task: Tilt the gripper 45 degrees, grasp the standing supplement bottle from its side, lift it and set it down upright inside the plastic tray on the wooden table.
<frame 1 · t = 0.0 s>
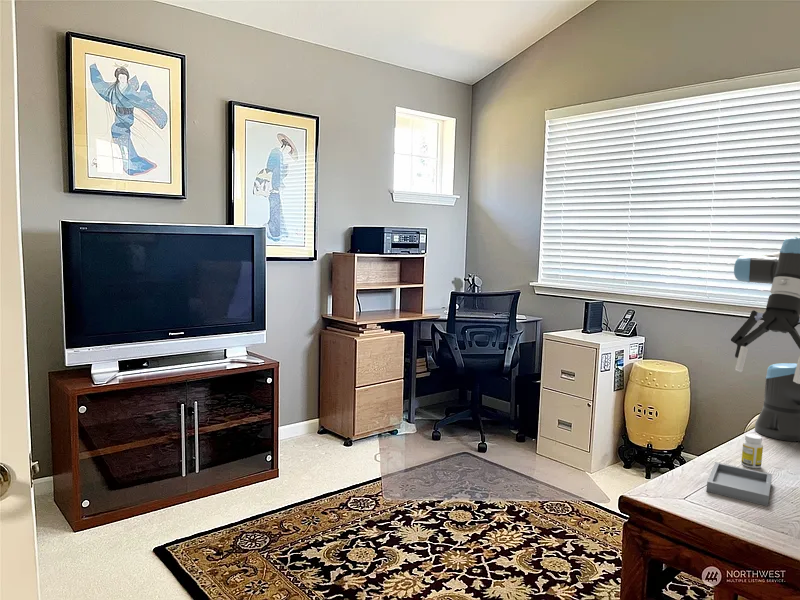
hand: (766, 376, 150), 28 cm above the table, tool tilted 20°, fingers open, 13 cm apart
tray: (739, 487, 150), on the table
supplement bottle: (750, 466, 165), on the table
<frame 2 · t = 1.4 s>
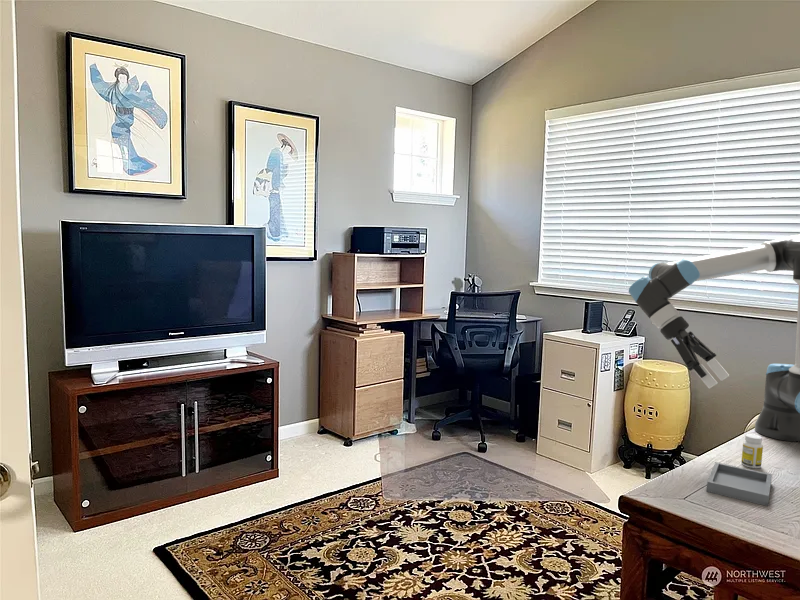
hand: (719, 382, 169), 22 cm above the table, tool tilted 45°, fingers open, 13 cm apart
nothing on the table moved.
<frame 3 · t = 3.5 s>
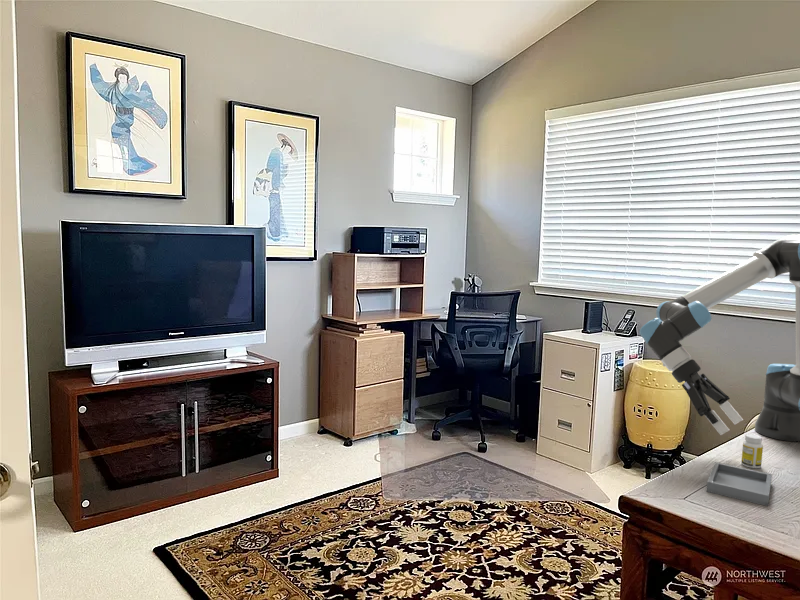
hand: (732, 427, 167), 10 cm above the table, tool tilted 45°, fingers open, 13 cm apart
nothing on the table moved.
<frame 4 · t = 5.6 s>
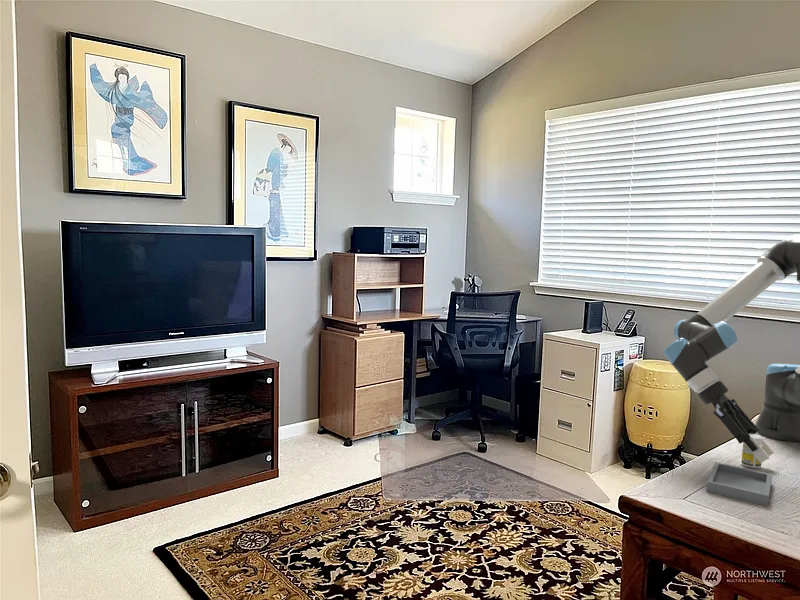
hand: (767, 457, 162), 3 cm above the table, tool tilted 45°, fingers closed on supplement bottle, 5 cm apart
supplement bottle: (750, 465, 165), on the table, touching gripper
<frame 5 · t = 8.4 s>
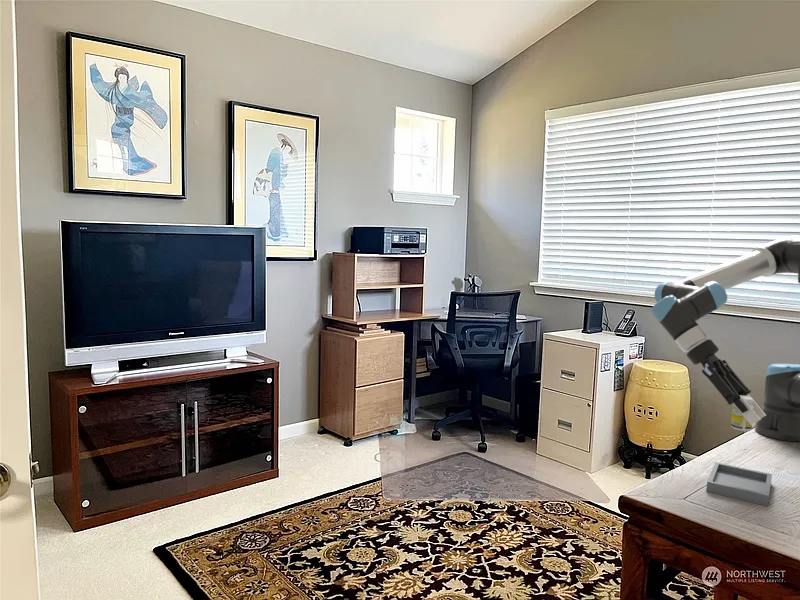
hand: (758, 420, 152), 16 cm above the table, tool tilted 45°, fingers closed on supplement bottle, 5 cm apart
supplement bottle: (740, 429, 155), point 13 cm above the table, touching gripper
when the fingers open (5 cm above the table, at t = 11.1 s): supplement bottle drops 1 cm, resting on tray.
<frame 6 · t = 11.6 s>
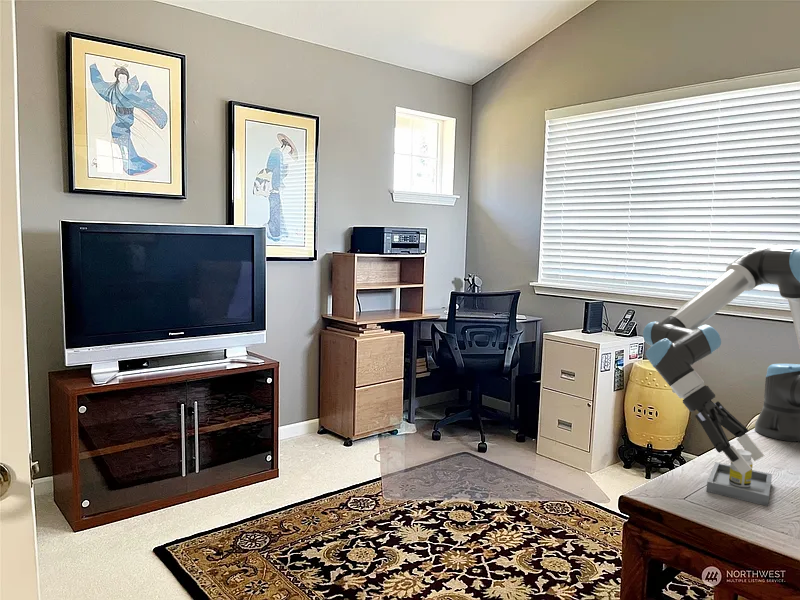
hand: (753, 464, 148), 7 cm above the table, tool tilted 45°, fingers open, 12 cm apart
supplement bottle: (739, 484, 150), point 1 cm above the table, touching tray
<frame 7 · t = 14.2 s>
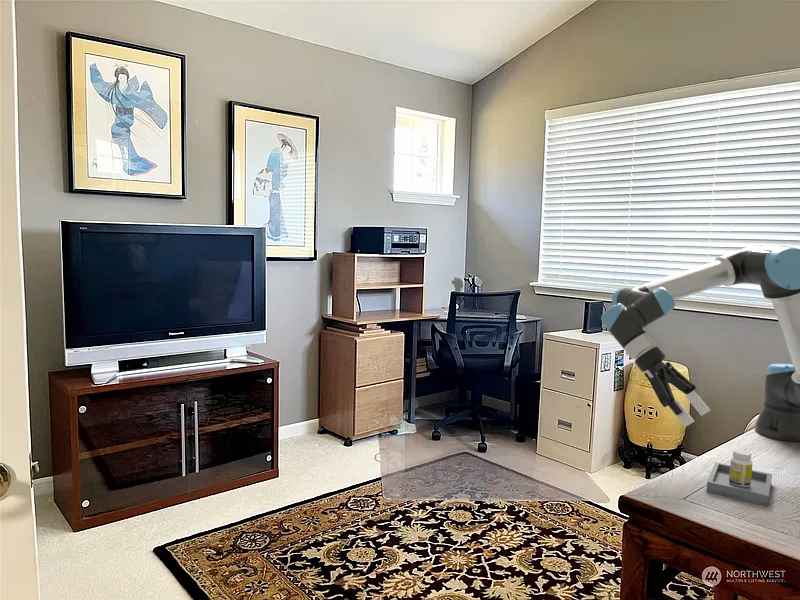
hand: (698, 418, 156), 15 cm above the table, tool tilted 45°, fingers open, 13 cm apart
nothing on the table moved.
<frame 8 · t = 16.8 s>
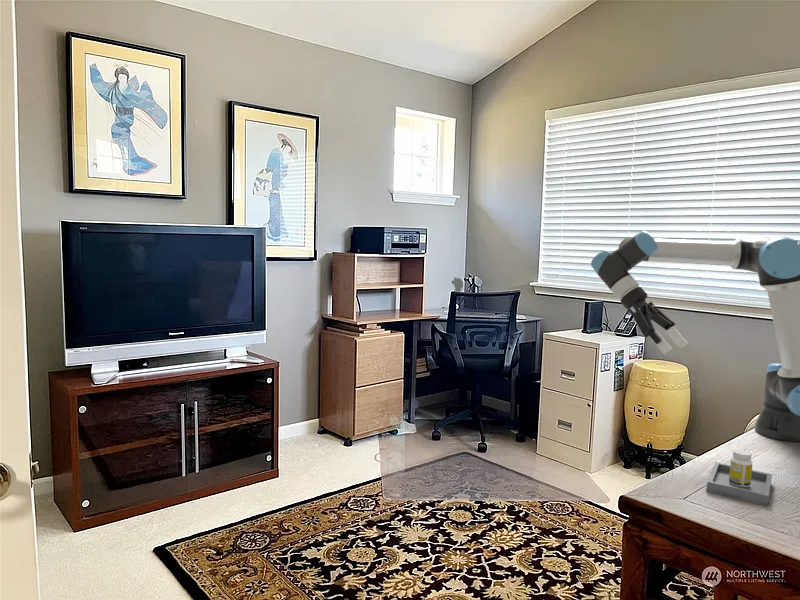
hand: (676, 348, 175), 30 cm above the table, tool tilted 45°, fingers open, 13 cm apart
nothing on the table moved.
at the end: supplement bottle inside the target area on the tray (0.1 cm from its centre), point 0.6 cm above the tray's base; supplement bottle tilted 0°; the gripper is holding nothing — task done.
